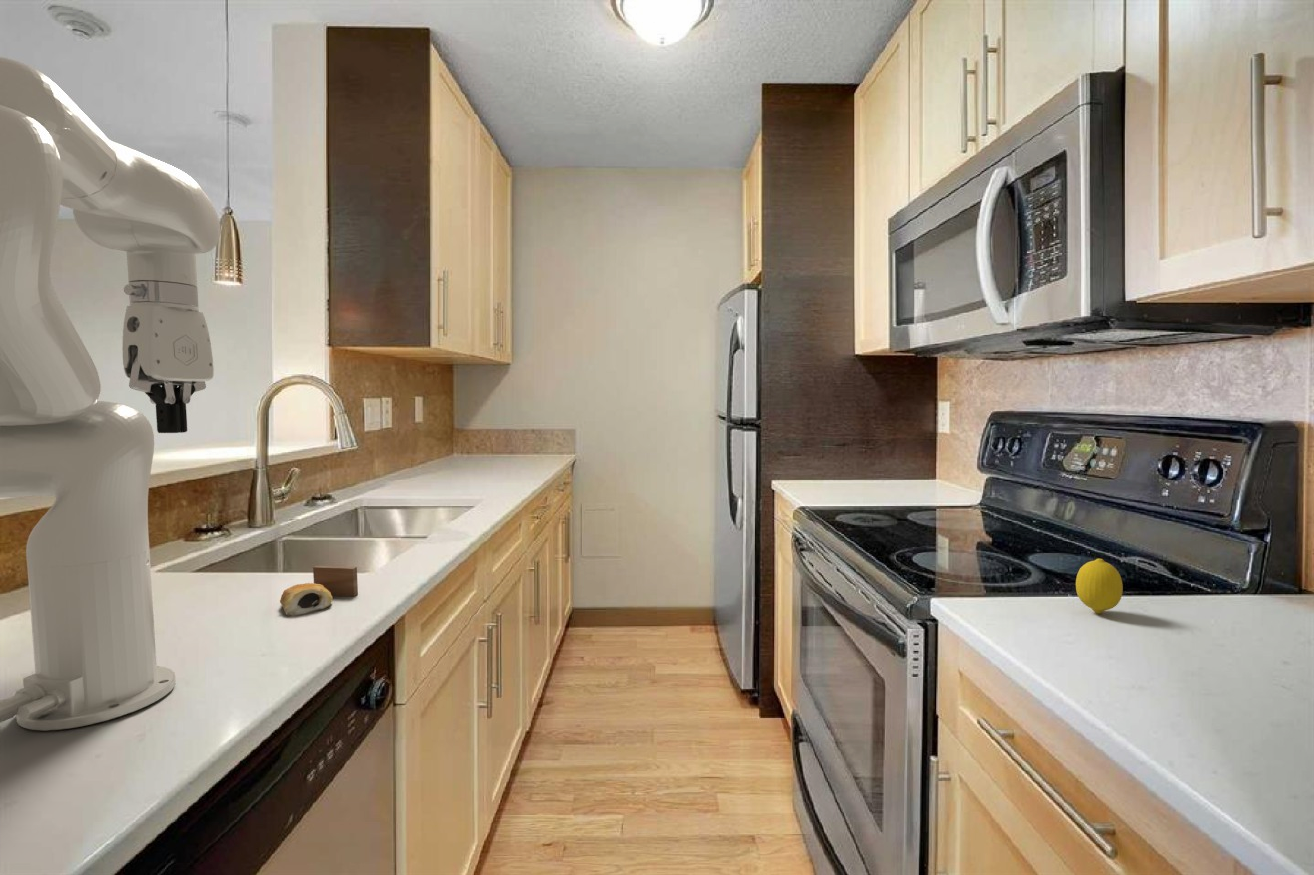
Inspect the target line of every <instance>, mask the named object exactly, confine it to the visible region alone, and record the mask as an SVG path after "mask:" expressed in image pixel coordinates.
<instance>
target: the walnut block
mask: <svg viewBox="0 0 1314 875" xmlns="http://www.w3.org/2000/svg"><path fill="white" fill-rule="evenodd" d="M312 570H313V571H312V575H313V583H315V584H321V585H323V586H324V587H325V588H326V589H327V590H328V591H330V592H331V595H332V597H333V596H336V597H337V596H339V597H356V596H358V595H359V592H358V591H359V589H358V588H359V587H358V585H359V584H358V567H357V566H341V565H339V566H337V565H335V566H334V565H333V566H332V565H316V566H313V567H312Z"/></svg>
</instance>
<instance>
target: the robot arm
mask: <svg viewBox="0 0 1314 875" xmlns="http://www.w3.org/2000/svg"><path fill="white" fill-rule="evenodd" d="M61 206H63V207H66V208H69V209H72V214H73V218H74V221H75V223H76V225H77V226H78V228H79V230H80V231H81V232H82V233H83V235H85V237H86V238H88V239H89V240H90V241H91V242H93V243H94V244H97V245H99V246H101V247H104V248H106V249H109V250H110V249H111V250H116V251H122V252H126V264H127V279H128V284H126V285H124V288H123V292H124V294H125V295H128V296H129V305H127V306H126V309H125V313H124V321H123V329H122V364H123V370H124V374H125V376H126V377H127V378H129V382H128V386H129V388H130V389H132V390H135V391H139V392H143V393H145V395H147V396H148V397H149V401H150V403H151V404H153V405H155V416H156V418H155V419H156V431H157V433H158V434H179V433H187V432H188V416H187V404H190V403H191V397H192V396H193V394H194V393H197V392H200V391H203V390H205V389H206V388H207V384H206V382H209V381H211V380H212V379H213V378H214V374H215V372H214V370H215V369H214V358H213V349H212V343H211V338H210V337H211V336H210V332H209V328H208V324H207V320H206V318H205V315H204V312H201V311H200V310H199V295H198V293H199V292H198V290H199V289H198V280H197V279H198V276H197V260H196V258H197V257H196V256H197V255H196V254H198V255H199V254H206V253H209V252H210V251H212V250H214V248H216V246H217V245H218V243H219V240H220V236H221V225H220V224H221V223H220V220H219V219H220V218H219V216H218V213H217V210H216V209H215V207H214V205H213V202H212V201H211V200H210V198H209V197H208V195H207V193H206V192H204V190H203V189H202V188H201V186H200V185H199V184H198V182H197V181H196V180H194V178H192V177H191V176H190V175H189V174H187V173H185V172H184V171H182V170H180V169H178V168H177V167H174V166H172V165H170V164H168V163H167V162H164V161H161V160H158V159H156V158H154V157H151V156H150V155H149V156H148V154H147V155H146V154H144V153H143V152H140V151H138V150H136V149H133V148H131V147H129V146H126V145H124V144H120V143H119V142H116V141H114V140H111V139H109V138H108V136H107V135H105V134H104V133H103V131H102V130H101V129H100V128H99V127H98V126H97V125H96V124H95V123H94V122H93V121H92V120H91V119H90V118H89V117H88V115H87V114H85V113H84V112H83V110H81V108H79V106H78V105H77V104H76V103H75V102H74V101H73V100H72V99H71V98H70V97H69V96H68V95H67V94H66V93H65V92H64V90H62V89H61V87H59V85H57V84H56V83H55V82H54V81H53V80H52V79H51V78H49V76H47V75H46V74H44V73H43V72H41V71H40V70H37V69H36V68H34V67H32V66H30V65H29V64H25V63H23V62H20V61H17V60H14V59H11V58H8V57H3V56H0V499H2V498H6V499H7V498H17V497H18V498H23V497H25V498H26V497H53V498H54V497H55V500H54V502H53V504H52V505H51V507H50V508H49V509H48V510H47V512H46V513H45V514H44V515H42V517H41V518H40V519H39V521H38V522H37V523H36V524H35V526H33V529H31V532H30V534H29V536H28V539H27V541H26V548H25V553H26V554H25V555H26V556H25V559H26V566H27V567H26V568H27V580H28V593H29V594H28V596H29V606H30V620H31V621H30V622H31V633H32V645H33V660H34V673H33V674H31V675H28V676H24V677H23V678H22V682H23V688H20V689H18V690H17V691H16V692H15V694H14V695H13V696H11V697H9V698H8V697H7V698H4V699H0V723H3V722H6V721H7V720H10V719H12V718H14V716H16V723H17V724H18V726H20V727H22V728H24V729H27V730H32V731H59V730H67V729H74V728H79V727H84V726H90V725H95V724H98V723H99V724H100V723H103V722H107V721H111V720H113V719H117V718H120V717H122V716H126V715H129V714H131V713H134V712H136V711H139V710H142V709H143V708H146V707H148V706H150V705H151V704H154V703H156V702H158V701H160V700H161V699H162V698H164V697H165V696H166V695H168V694H169V693H170V692H171V691H173V689H174V688H175V686H176V673H175V672H174V670H172V669H171V668H168V667H165V666H159V665H158V664H157V651H156V650H157V648H156V635H155V634H156V633H155V632H156V631H155V620H154V619H155V618H154V616H155V615H154V600H153V588H152V587H153V586H152V583H153V582H152V570H151V568H152V567H151V553H150V552H151V551H150V550H151V549H150V538H149V514H148V513H149V509H148V508H149V506H148V505H149V486H150V478H151V472H152V467H153V466H152V465H153V459H154V452H155V435H154V429H153V426H152V425H151V422H150V421H149V419H148V418H147V417H146V416H145V415H144V413H142V412H140V411H139V410H137V409H135V408H133V407H131V406H128V405H126V404H122V403H118V402H112V401H104V400H98V399H99V398H100V394H101V388H102V387H101V381H100V376H99V372H98V370H97V366H96V365H95V363H94V361H93V359H92V357H91V355H90V353H89V351H88V349H87V347H86V346H85V344H84V342H83V340H82V338H81V337H80V334H79V333H78V331H77V330H76V328H75V326H74V324H73V322H72V320H71V318H70V317H69V315H68V313H67V312H66V309H65V308H64V306H63V304H62V303H61V300H60V298H59V296H58V294H57V292H56V289H54V285H53V283H52V279H51V274H50V272H51V271H50V268H51V259H52V258H51V257H52V252H53V247H54V242H55V237H56V232H57V226H58V218H59V214H60V209H61Z"/></svg>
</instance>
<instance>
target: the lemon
mask: <svg viewBox="0 0 1314 875" xmlns="http://www.w3.org/2000/svg"><path fill="white" fill-rule="evenodd" d="M1123 587H1124V586H1123V580H1122V577H1121V575H1120V573H1119V571H1118V570H1117V568H1115V566H1113V565H1112V564H1111V563H1109V562H1106V561H1105V560H1104V559H1103V558H1096V559H1095V560H1091V561H1088V562H1086V563H1085V564H1083V565H1082V566H1081V567H1079V570H1078V572H1077V575H1076V579H1075V590H1076V594H1077V597H1078V598H1079V600H1080V602H1082V603H1083V604H1084V605H1085V606H1086V607H1088V608H1090V609H1091V610H1092V611H1093V612H1094V614H1099V615H1100V614H1102V613H1103V612H1105V611H1108V610H1111V609H1113V608H1115V607H1117V605H1118V604H1119V603H1120V601H1121V599H1122V595H1123V589H1124V588H1123Z"/></svg>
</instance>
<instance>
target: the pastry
mask: <svg viewBox="0 0 1314 875" xmlns="http://www.w3.org/2000/svg"><path fill="white" fill-rule="evenodd" d="M333 598H334V597H333V595H331V592H330V591H328V590H327V589H326V588H325V587H324V586H323V585H321V584H315V583H314V582H305V583H299V584H295V585H292V586H290V587H288V588H286V589H285V590H283V592H282V595H281V597H280V600H279V602H280V605H281V606H282V608H283V611H284V612H285V615H288V616H298V615H304V614H307V613H312V612H317V611H321V610H324V609H326V608H328V607H329V606H331V604H332V601H333Z"/></svg>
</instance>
